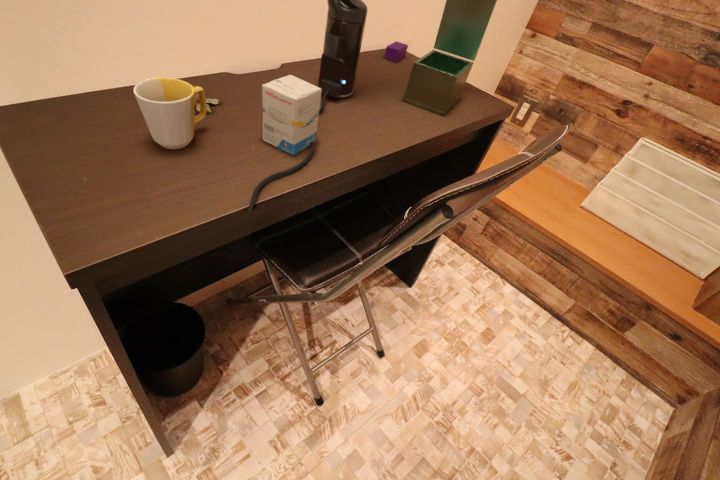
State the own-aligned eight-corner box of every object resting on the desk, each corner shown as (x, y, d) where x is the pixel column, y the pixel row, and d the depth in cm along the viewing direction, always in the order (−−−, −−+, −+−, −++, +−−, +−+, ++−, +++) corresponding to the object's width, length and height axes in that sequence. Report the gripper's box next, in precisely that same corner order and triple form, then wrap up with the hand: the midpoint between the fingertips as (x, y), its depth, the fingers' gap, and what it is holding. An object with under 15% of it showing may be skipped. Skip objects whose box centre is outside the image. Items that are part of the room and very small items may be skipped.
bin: (442, 115, 96) (457, 76, 89) (402, 100, 100) (413, 62, 92) (458, 99, 106) (473, 62, 98) (421, 85, 109) (433, 49, 102)
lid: (498, -7, 85) (505, -14, 87) (451, -19, 88) (458, -26, 90) (473, 61, 98) (479, 53, 100) (433, 48, 101) (440, 41, 103)
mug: (162, 161, 68) (150, 106, 60) (137, 137, 72) (122, 83, 64) (225, 142, 75) (221, 90, 67) (199, 121, 79) (192, 70, 72)
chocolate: (395, 62, 120) (398, 50, 117) (383, 58, 121) (386, 46, 118) (404, 56, 125) (408, 45, 122) (393, 52, 126) (396, 41, 123)
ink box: (316, 142, 79) (323, 87, 71) (292, 156, 74) (296, 99, 66) (286, 127, 82) (289, 72, 74) (261, 140, 77) (261, 83, 69)
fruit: (206, 116, 81) (204, 99, 78) (171, 108, 82) (168, 91, 79) (221, 101, 87) (220, 85, 84) (189, 93, 87) (186, 77, 84)
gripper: (470, -91, 80) (441, 1, 93) (535, -78, 76) (496, 17, 89) (479, -90, 85) (450, -2, 97) (541, -78, 81) (502, 12, 93)
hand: (472, 6), depth 93 cm, fingers closed on lid, 5 cm apart
